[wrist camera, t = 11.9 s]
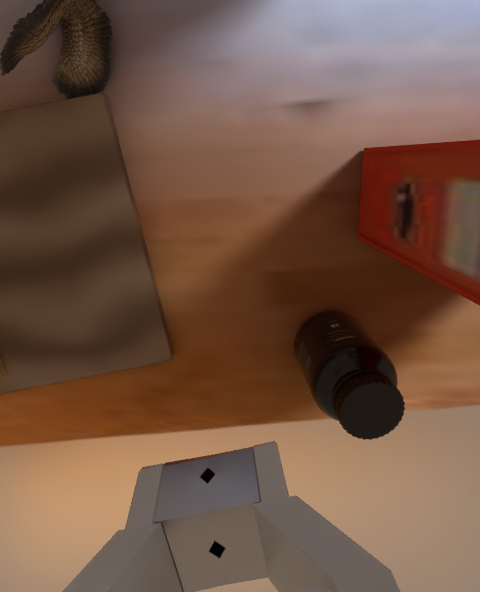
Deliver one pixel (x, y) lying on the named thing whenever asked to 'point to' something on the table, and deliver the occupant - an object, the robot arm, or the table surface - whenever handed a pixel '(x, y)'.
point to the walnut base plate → (71, 250)
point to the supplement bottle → (349, 375)
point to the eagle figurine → (66, 44)
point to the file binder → (425, 210)
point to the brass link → (2, 369)
